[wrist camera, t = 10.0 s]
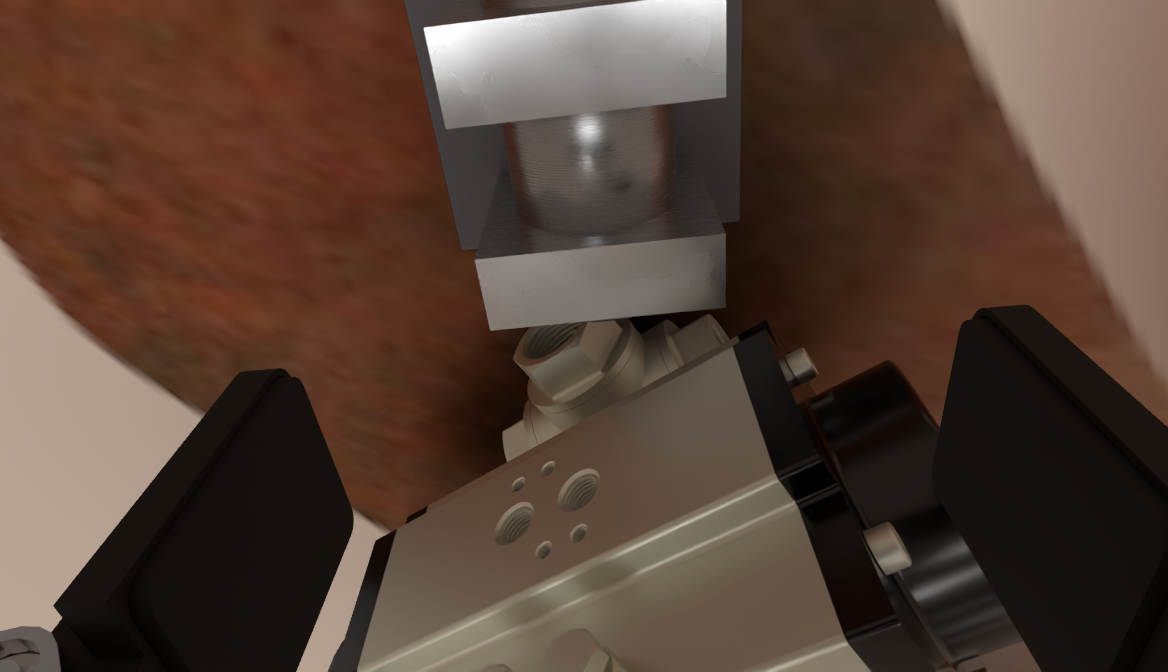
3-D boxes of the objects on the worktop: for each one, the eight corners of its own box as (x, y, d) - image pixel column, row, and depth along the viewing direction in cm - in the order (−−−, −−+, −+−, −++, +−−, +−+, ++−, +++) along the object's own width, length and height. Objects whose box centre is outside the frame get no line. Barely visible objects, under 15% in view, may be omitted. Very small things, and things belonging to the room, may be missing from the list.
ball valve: (762, 158, 23) (1086, 628, 8) (861, 330, 27) (1205, 862, 12) (380, 400, 29) (169, 939, 14) (506, 514, 33) (446, 1034, 18)
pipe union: (692, 229, 24) (725, 326, 19) (512, 248, 25) (494, 348, 19) (685, -61, 20) (726, -43, 14) (461, -32, 20) (417, -4, 14)
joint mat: (737, 217, 24) (739, 221, 24) (463, 246, 25) (461, 250, 25) (741, -114, 19) (743, -115, 19) (391, -69, 20) (388, -68, 19)
